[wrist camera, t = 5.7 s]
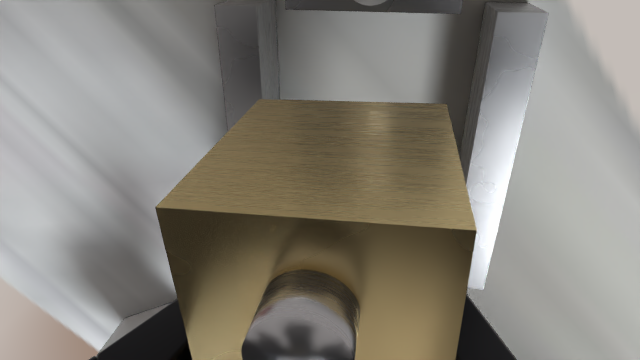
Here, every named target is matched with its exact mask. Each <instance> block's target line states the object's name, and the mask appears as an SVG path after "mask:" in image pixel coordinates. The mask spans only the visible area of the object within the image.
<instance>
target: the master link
mask: <svg viewBox="0 0 640 360" xmlns="http://www.w3.org/2000/svg"><path fill="white" fill-rule="evenodd" d="M155 208H156V212H157V216H158V220H159V224H160V228H161V233H162V237H163V241H164V245H165V249H166V253H167V257H168V261H169V265H170V270H171V274H172V278H173V282H174V286H175V290H176V294H177V298H178V302H179V307H180V311H181V315H182V319H183V323H184V327H185V331H186V335H187V339H188V344H189V348H190V352H191V356H192V360H455V359H456V353H457V347H458V341H459V335H460V329H461V323H462V317H463V311H464V305H465V299H466V293H467V287H468V281H469V275H470V269H471V263H472V257H473V251H474V245H475V239H476V233H477V229H476V225H475V221H474V216H473V212H472V208H471V204H470V200H469V195H468V191H467V187H466V183H465V179H464V175H463V170H462V166H461V162H460V158H459V154H458V150H457V145H456V141H455V137H454V133H453V129H452V124H451V120H450V116H449V112H448V108H447V104H429V103H390V102H351V101H312V100H272V99H259V100H258V101H257V102H256V103H255V104H254V105H253V106H252V107H251V108H250V109H249V110H248V111H247V112H246V113H245V115H244V116H243V117H242V118H241V119H240V120H239V121H238V122H237V123H236V124H235V125H234V126H233V127H232V128H231V129H230V130H229V131H228V132H227V133H226V134H225V135H224V136H223V137H222V138H221V140H220V141H219V142H218V143H217V144H216V145H215V146H214V147H213V148H212V149H211V150H210V151H209V152H208V153H207V154H206V155H205V156H204V157H203V158H202V159H201V160H200V161H199V162H198V163H197V165H196V166H195V167H194V168H193V169H192V170H191V171H190V172H189V173H188V174H187V175H186V176H185V177H184V178H183V179H182V180H181V181H180V182H179V183H178V184H177V185H176V186H175V187H174V188H173V189H172V191H171V192H170V193H169V194H168V195H167V196H166V197H165V198H164V199H163V200H162V201H161V202H160V203H159V204H158V205H157V206H156V207H155Z"/></svg>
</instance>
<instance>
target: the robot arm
mask: <svg viewBox="0 0 640 360" xmlns="http://www.w3.org/2000/svg"><path fill="white" fill-rule="evenodd" d="M89 360H192V356H191V352H190V348H189V344H188V339H187V335H186V331H185V327H184V323H183V319H182V315H181V311H180V307H179V302H178V299H176V300H175V301H173V302H172V303H170V304H169V305H167V306H166V307H165V308H163V309H162V310H160V311H159V312H157V313H156V314H154V315H153V316H151V317H150V318H149V319H147V320H146V321H144V322H143V323H141V324H140V325H138V326H137V327H136V328H134V329H133V330H131V331H130V332H128V333H127V334H125V335H124V336H123V337H121V338H120V339H118V340H117V341H115V342H114V343H112V344H111V345H110V346H108V347H107V348H105V349H104V350H102V351H101V352H99V353H98V355H97V357H96V356H94V357H92V358H90V359H89ZM455 360H517V359H516V358H515V357H514V355H513V354H512V353H511V351H510V350H509V349H508V347H507V346H506V345H505V344H504V342H503V341H502V340H501V338H500V337H499V336H498V334H497V333H496V332H495V330H494V329H493V328H492V327H491V325H490V324H489V323H488V321H487V320H486V319H485V317H484V316H483V315H482V313H481V312H480V311H479V310H478V308H477V307H476V306H475V304H474V303H473V302H472V300H471V299H470V298H469V297H468V295H467V294H466V299H465V305H464V311H463V317H462V323H461V329H460V335H459V341H458V347H457V353H456V359H455Z"/></svg>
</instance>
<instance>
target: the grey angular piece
mask: <svg viewBox="0 0 640 360" xmlns="http://www.w3.org/2000/svg"><path fill="white" fill-rule="evenodd" d="M171 303H172V302H171ZM169 304H170V303H168V304H165V305H162V306H160V307H157V308H154V309H151V310H148V311H145V312H142V313H139V314H136V315H133V316H130V317H127V318H124V320H123V321H122V322H121V324H120V325H119V326H118V328H117V329H116V330H115V332H114V333H113V334H112V336H111V337H110V338H109V340H108V341H107V342H106V344H105V345H104V346H103V348H102V349H101V350H100V352H101V351H102V350H104V349H105V348H107V347H108V346H110V345H111V344H112V343H114V342H115V341H117V340H118V339H120V338H121V337H123V336H124V335H125V334H127V333H128V332H130V331H131V330H133V329H134V328H136V327H137V326H138V325H140V324H141V323H143V322H144V321H146V320H147V319H149V318H150V317H151V316H153V315H154V314H156V313H157V312H159V311H160V310H162V309H163V308H165V307H166V306H167V305H169ZM97 355H98V354H97ZM96 357H97V356H96Z"/></svg>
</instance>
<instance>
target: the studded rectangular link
mask: <svg viewBox="0 0 640 360" xmlns="http://www.w3.org/2000/svg"><path fill="white" fill-rule="evenodd" d="M462 3H463V0H285V7H286V10H326V11H366V12H406V13H446V14H461V10H462ZM214 7H215V16H216V25H217V35H218V44H219V53H220V63H221V72H222V81H223V91H224V100H225V109H226V118H227V128H228V131H229V130H230V129H231V128H232V127H233V126H234V125H235V124H236V123H237V122H238V121H239V120H240V119H241V118H242V117H243V116H244V115H245V113H246V112H247V111H248V110H249V109H250V108H251V107H252V106H253V105H254V104H255V103H256V102H257V101H258V100H259V99H272V100H280V93H279V71H278V48H277V26H276V4H275V0H228V1H225V2H222V3H219V4H216V5H214ZM548 15H549V13H547V12H545V11H544V10H542V9H540V8H538V7H536V6H534V5H532V4H530V3H491V2H486V3H485V9H484V15H483V21H482V27H481V33H480V38H479V44H478V50H477V56H476V62H475V68H474V74H473V80H472V86H471V91H470V97H469V103H468V109H467V115H466V121H465V127H464V133H463V139H462V144H461V150H460V156H459V158H460V162H461V166H462V170H463V175H464V179H465V183H466V187H467V191H468V195H469V200H470V204H471V208H472V212H473V216H474V221H475V225H476V229H477V233H476V239H475V245H474V251H473V257H472V263H471V269H470V275H469V281H468V287H467V288H473V289H481V290H483V289H484V285H485V281H486V276H487V272H488V268H489V264H490V260H491V255H492V251H493V247H494V243H495V238H496V234H497V230H498V226H499V222H500V217H501V213H502V209H503V205H504V201H505V196H506V192H507V188H508V184H509V179H510V175H511V171H512V167H513V163H514V158H515V154H516V150H517V146H518V141H519V137H520V133H521V129H522V125H523V120H524V116H525V112H526V108H527V103H528V99H529V95H530V91H531V87H532V82H533V78H534V74H535V70H536V66H537V61H538V57H539V53H540V49H541V44H542V40H543V36H544V32H545V28H546V23H547V19H548Z"/></svg>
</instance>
